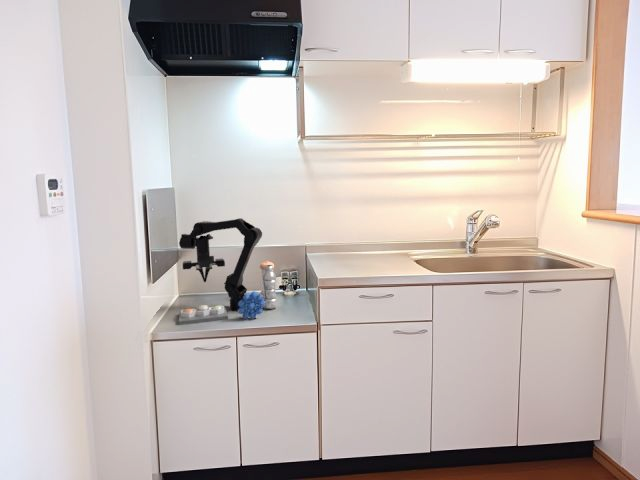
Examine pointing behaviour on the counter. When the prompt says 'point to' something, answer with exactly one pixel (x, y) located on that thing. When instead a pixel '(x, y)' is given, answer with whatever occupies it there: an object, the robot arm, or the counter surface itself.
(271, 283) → the plastic bottle
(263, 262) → the pepper shaker
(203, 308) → the grey button
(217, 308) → the sage button
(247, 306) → the grapes
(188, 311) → the terracotta button
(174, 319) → the counter surface
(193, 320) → the button panel
